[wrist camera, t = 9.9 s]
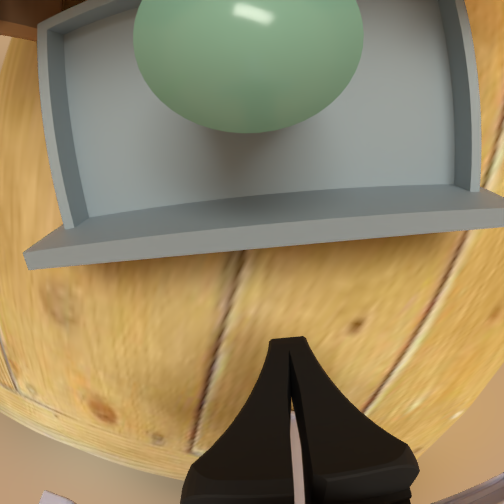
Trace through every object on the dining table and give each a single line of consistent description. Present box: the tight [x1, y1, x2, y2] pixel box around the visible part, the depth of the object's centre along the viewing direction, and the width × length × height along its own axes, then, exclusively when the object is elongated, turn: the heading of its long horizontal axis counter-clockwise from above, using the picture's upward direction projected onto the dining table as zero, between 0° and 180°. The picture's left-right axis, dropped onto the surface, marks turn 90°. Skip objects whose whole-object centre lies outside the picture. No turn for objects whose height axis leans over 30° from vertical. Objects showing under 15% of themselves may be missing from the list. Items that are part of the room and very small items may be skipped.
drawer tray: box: [23, 0, 504, 270], centre depth 10 cm, size 11×21×5 cm, turn 96°
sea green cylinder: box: [133, 0, 364, 133], centre depth 8 cm, size 5×5×7 cm
